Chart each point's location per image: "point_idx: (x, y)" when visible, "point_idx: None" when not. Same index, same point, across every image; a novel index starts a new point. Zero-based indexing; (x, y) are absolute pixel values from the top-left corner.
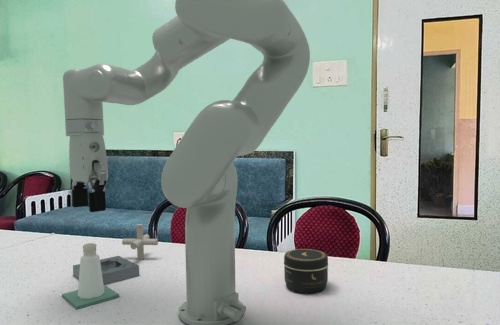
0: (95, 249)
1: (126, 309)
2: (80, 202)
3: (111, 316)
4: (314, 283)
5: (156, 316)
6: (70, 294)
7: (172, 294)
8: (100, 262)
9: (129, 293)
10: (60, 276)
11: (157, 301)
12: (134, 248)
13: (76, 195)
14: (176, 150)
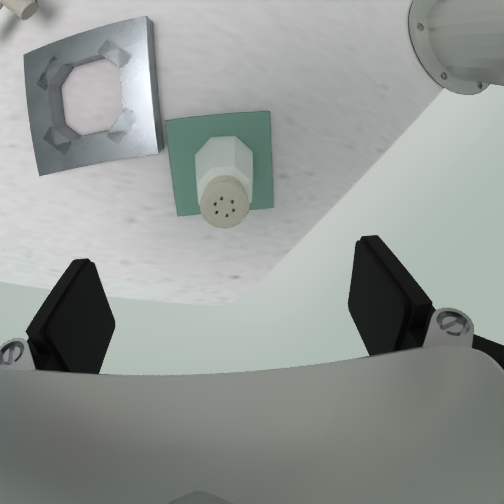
0: (240, 185)
1: (344, 127)
2: (98, 311)
3: (353, 163)
4: None
5: (409, 104)
6: (192, 201)
7: (338, 18)
8: (50, 107)
9: (262, 83)
10: (44, 194)
11: (352, 61)
12: (35, 9)
13: (92, 361)
14: None
